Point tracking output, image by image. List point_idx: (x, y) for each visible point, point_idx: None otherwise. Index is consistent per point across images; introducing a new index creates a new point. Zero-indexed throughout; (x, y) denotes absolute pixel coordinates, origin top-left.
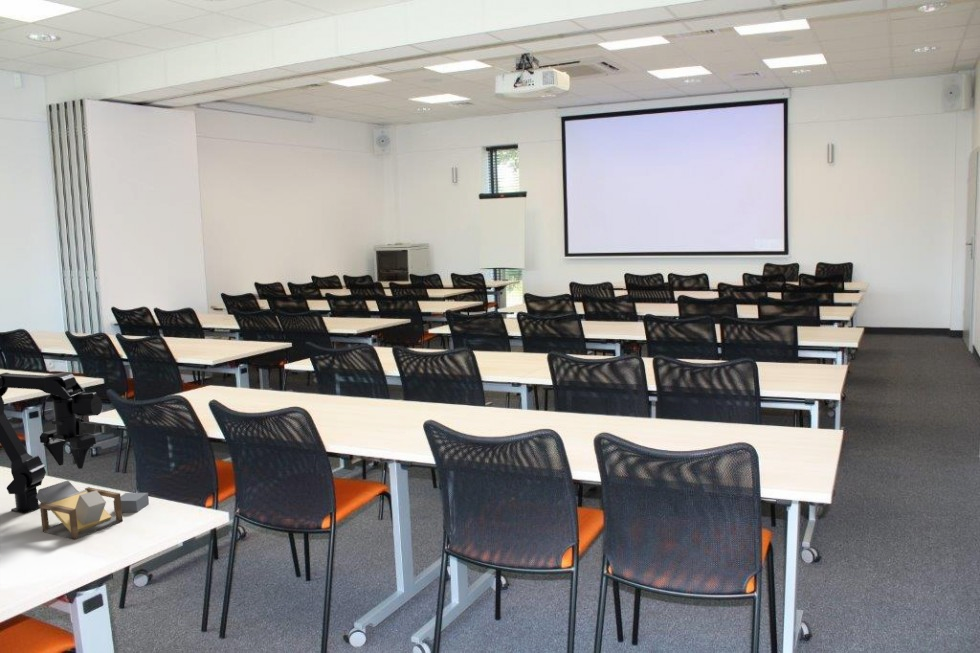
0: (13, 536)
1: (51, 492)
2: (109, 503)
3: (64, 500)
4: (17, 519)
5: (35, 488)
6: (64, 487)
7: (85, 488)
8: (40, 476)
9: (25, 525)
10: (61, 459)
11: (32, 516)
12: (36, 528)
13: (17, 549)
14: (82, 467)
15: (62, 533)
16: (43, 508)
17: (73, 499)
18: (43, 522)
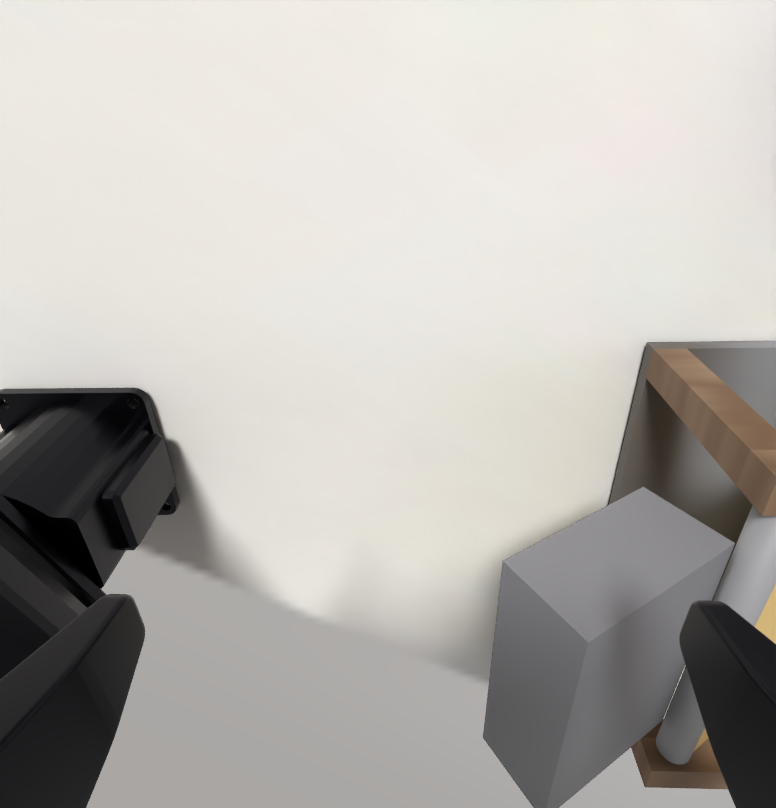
0: (480, 665)
1: (606, 738)
2: (575, 66)
3: None
4: (244, 556)
5: (42, 514)
6: (626, 661)
7: (772, 515)
8: (21, 595)
9: (386, 585)
10: (81, 708)
11: (270, 504)
12: (491, 587)
13: None
14: (727, 609)
15: None
16: None
17: (768, 620)
18: None
